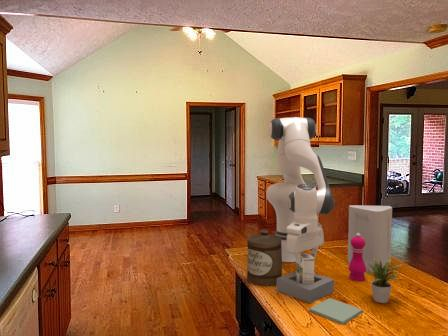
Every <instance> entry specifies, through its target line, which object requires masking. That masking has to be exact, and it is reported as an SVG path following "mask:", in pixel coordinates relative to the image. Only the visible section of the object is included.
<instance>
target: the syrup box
mask: <svg viewBox="0 0 448 336" xmlns="http://www.w3.org/2000/svg"><path fill="white" fill-rule="evenodd" d="M300 258H302V263H300V264H298V263H296V271H297V278H296V281H297V282H300V283H303V284H305V285H310V284H313V283H314V273H315V258H314V257H313V256H312V255H311V254H310V253H307V252H306V253H305V252H304V253H303V252H301V254H300Z"/></svg>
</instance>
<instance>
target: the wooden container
mask: <svg viewBox="0 0 448 336" xmlns="http://www.w3.org/2000/svg"><path fill="white" fill-rule="evenodd" d="M259 232H260V233H259V234H253V235H249V236H248V237H247V241H246V242H247V244H246V245H247V259H246V260H247V261H246V262H247V264H246V265H247V266H246V267H247V269H246V270H247V273H246V275H247V278H246V279H247V282H249V283H251V284H253V285H255V286H261V287H263V286H264V287H266V286H267V287H268V286H269V287H270V286H277V278H279V277H282V276H283V262H282V247H281V246H282V241H281V238H280V237H278V236H275V235H274V234H269V230H268V229H266V228H262V229H261V230H260V231H259Z"/></svg>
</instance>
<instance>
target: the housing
mask: <svg viewBox="0 0 448 336" xmlns="http://www.w3.org/2000/svg"><path fill="white" fill-rule="evenodd" d="M296 278H297V270H296V271H293V272H290V273H287V274H284V275H282V277H279V278H277V284H276V292H278V293H282V294H284V295H287V296H289V297H292V298H294V299H297V300H300V301H302V300H303V302H304V303H308V304H312V303H314V302H316V301H318V300H320V299H323V298H324V297H326V296H329V295H331V294H332V293H334V292H335V279H334V278H331V277H328V276H324V275H321V274H318V273H315V272H314V283H313V284H310V285H305V284H303V283H300V282H297V281H296Z"/></svg>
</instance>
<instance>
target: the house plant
mask: <svg viewBox="0 0 448 336" xmlns="http://www.w3.org/2000/svg"><path fill="white" fill-rule="evenodd" d="M373 261H374V265H373V266H372V265H371V264H370V263H368V262H367V261H366V262H367V263H368V264H369V265H370V267H371V268H372V269H373V271H374V272H371V271H366V272H364V274H367V275H370V276H372V277H373V278H374V280H373V281H371V282H370V284H371V291H372V297H373V298H372V299H373V301H374V302H377V303H380V304H387V303H388V302H389V300H390V294H391V290H392V286H393V285H392V284H391V283H389V282H391V281H392V280H394V281H395V282H398V280H397V279H396V278H397V277H398V276H397V275H399V274H400V273H399V272H397V273H393V271H394V270H400V269H402V268H401V266H402V264H398V265H394V266H393V267H391V262H392V261H393V259H391V260H390V261H389V258H388V260H387V261H386V263H385V265H384V267H383V269H382V263H381V260H380V257H379V262H380V265H379V264H378V263H377V261H376V260H375V258H373ZM388 261H389V262H388ZM374 266H375V267H374ZM373 267H374V268H373Z"/></svg>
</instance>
